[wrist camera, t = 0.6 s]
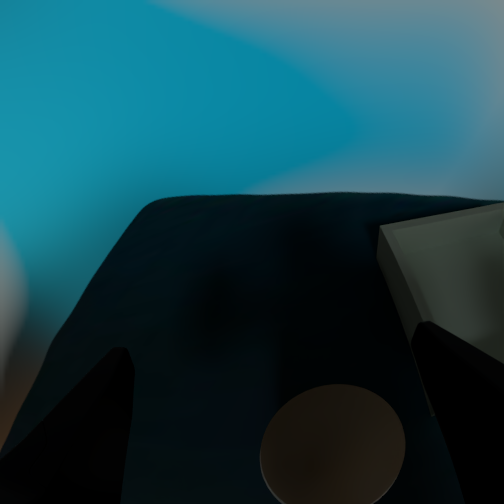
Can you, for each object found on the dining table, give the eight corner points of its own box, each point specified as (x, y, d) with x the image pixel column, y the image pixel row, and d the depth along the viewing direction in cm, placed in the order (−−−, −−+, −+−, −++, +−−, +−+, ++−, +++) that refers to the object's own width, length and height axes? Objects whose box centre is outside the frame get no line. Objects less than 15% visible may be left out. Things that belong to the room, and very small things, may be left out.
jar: (384, 496, 14) (421, 497, 8) (284, 515, 15) (261, 529, 9) (368, 412, 19) (391, 365, 13) (276, 429, 19) (250, 392, 13)
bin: (564, 350, 16) (588, 325, 13) (431, 416, 17) (450, 399, 14) (497, 231, 26) (508, 201, 23) (376, 258, 27) (379, 225, 25)
